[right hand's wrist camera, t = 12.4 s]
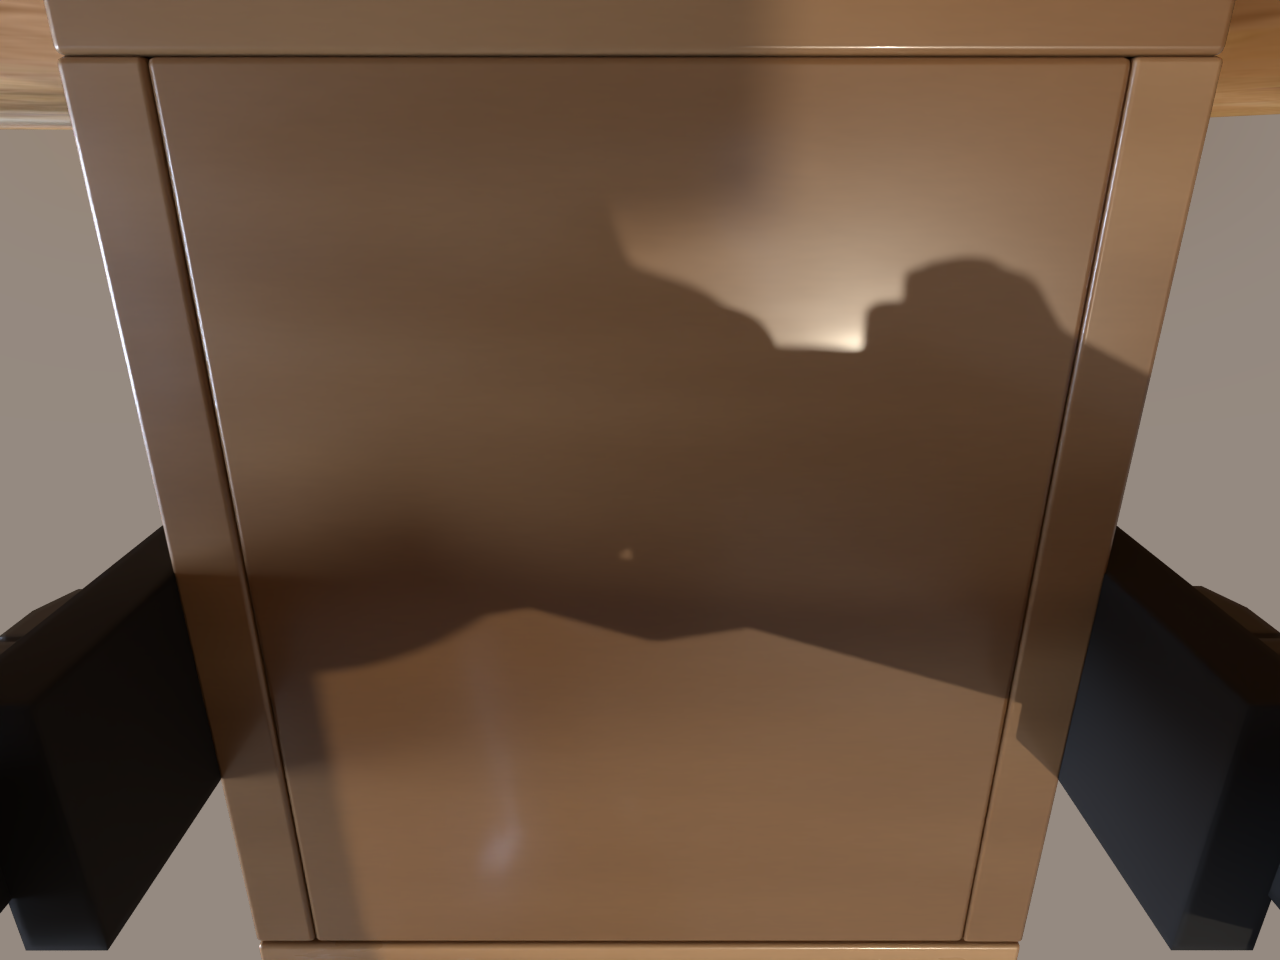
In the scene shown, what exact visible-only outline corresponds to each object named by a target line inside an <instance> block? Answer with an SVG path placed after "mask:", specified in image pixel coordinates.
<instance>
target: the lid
mask: <svg viewBox="0 0 1280 960" xmlns="http://www.w3.org/2000/svg"><path fill="white" fill-rule="evenodd" d="M259 949H260V953H261V957H262V960H1017V957H1018V952H1019V943H1018V942H967V941H965V940H964V939H963V937H962V938H961V940H958V941H321V940H318V939H317V936H316V938H315V939H314V940H311V941H261V943H260V946H259Z"/></svg>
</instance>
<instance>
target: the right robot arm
mask: <svg viewBox="0 0 1280 960" xmlns="http://www.w3.org/2000/svg"><path fill="white" fill-rule="evenodd" d="M220 780H221V775H220V771H219V766H218V762H217V757H216V753H215V749H214V744H213V740H212V736H211V731H210V727H209V722H208V718H207V714H206V709H205V705H204V700H203V696H202V692H201V687H200V683H199V679H198V674H197V670H196V665H195V661H194V657H193V652H192V648H191V644H190V639H189V635H188V630H187V626H186V622H185V617H184V613H183V609H182V604H181V600H180V595H179V591H178V587H177V582H176V578H175V574H174V571H173V567H172V562H171V558H170V554H169V549H168V545H167V540H166V536H165V532H164V527H163V526H161V527H160V528H159V529H158V530H156V531H155V532H154V533H153V534H151V535H150V536H149V537H147V538H146V539H145V540H144V541H142V542H141V543H140V544H139V545H137V546H136V547H135V548H134V549H132V550H131V551H130V552H129V553H127V554H126V555H125V556H124V557H122V558H121V559H120V560H119V561H117V562H116V563H115V564H114V565H112V566H111V567H110V568H109V569H107V570H106V571H105V572H103V573H102V574H101V575H100V576H98V577H97V578H96V579H95V580H93V581H92V582H91V583H90V584H88V585H87V586H86V587H85V588H83V589H78V590H75V591H73V592H71V593H69V594H67V595H65V596H63V597H61V598H59V599H57V600H55V601H53V602H50V603H48V604H46V605H44V606H42V607H40V608H38V609H36V610H34V611H32V612H31V613H29V614H28V615H27V616H25V617H24V618H23V619H22V620H20V621H19V622H18V623H16V624H15V625H14V626H12V627H11V628H10V629H9V630H7V631H6V632H5V633H3V634H2V635H1V636H0V913H1V912H2V910H3V909H4V908H5V907H6V906H7V904H8V903H9V905H10V908H11V911H12V914H13V916H14V919H15V922H16V925H17V927H18V930H19V933H20V935H21V938H22V941H23V944H24V946H25V949H26V950H108V949H109V948H110V946H111V945H112V943H113V942H114V940H115V939H116V937H117V936H118V934H119V932H120V931H121V929H122V928H123V926H124V925H125V923H126V922H127V920H128V919H129V917H130V916H131V914H132V913H133V911H134V910H135V908H136V907H137V905H138V904H139V902H140V901H141V899H142V898H143V896H144V895H145V893H146V892H147V890H148V889H149V887H150V886H151V884H152V883H153V881H154V879H155V878H156V877H157V875H158V874H159V872H160V871H161V869H162V867H163V866H164V864H165V863H166V861H167V860H168V858H169V857H170V855H171V854H172V852H173V851H174V849H175V848H176V846H177V845H178V843H179V842H180V840H181V839H182V837H183V836H184V834H185V833H186V831H187V830H188V828H189V827H190V825H191V824H192V822H193V820H194V819H195V818H196V816H197V814H198V813H199V811H200V810H201V808H202V807H203V805H204V804H205V802H206V801H207V799H208V798H209V796H210V795H211V793H212V792H213V790H214V789H215V787H216V786H217V784H218V783H219V781H220ZM1058 780H1059V781H1060V783H1061V784H1062V786H1063V787H1064V789H1065V790H1066V792H1067V793H1068V795H1069V796H1070V798H1071V799H1072V801H1073V802H1074V804H1075V805H1076V807H1077V808H1078V810H1079V811H1080V813H1081V814H1082V816H1083V818H1084V819H1085V821H1086V822H1087V824H1088V825H1089V827H1090V828H1091V830H1092V831H1093V833H1094V834H1095V836H1096V837H1097V839H1098V840H1099V842H1100V843H1101V845H1102V846H1103V848H1104V849H1105V851H1106V852H1107V854H1108V855H1109V857H1110V858H1111V860H1112V861H1113V863H1114V864H1115V866H1116V867H1117V869H1118V870H1119V872H1120V874H1121V875H1122V877H1123V878H1124V880H1125V881H1126V883H1127V884H1128V886H1129V887H1130V889H1131V890H1132V892H1133V893H1134V895H1135V896H1136V898H1137V899H1138V901H1139V902H1140V904H1141V905H1142V907H1143V908H1144V910H1145V911H1146V913H1147V914H1148V916H1149V917H1150V919H1151V920H1152V922H1153V923H1154V925H1155V926H1156V928H1157V929H1158V931H1159V933H1160V934H1161V936H1162V937H1163V939H1164V940H1165V942H1166V943H1167V945H1168V946H1169V948H1170V949H1171V950H1253V948H1254V946H1255V943H1256V940H1257V937H1258V935H1259V932H1260V929H1261V926H1262V924H1263V921H1264V918H1265V916H1266V913H1267V910H1268V907H1269V905H1270V902H1271V900H1272V901H1273V902H1274V903H1275V904H1276V905H1277V907H1278V908H1279V909H1280V632H1278V631H1277V630H1276V629H1274V628H1273V627H1272V626H1270V625H1269V624H1268V623H1267V622H1265V621H1264V620H1263V619H1261V618H1260V617H1259V616H1257V615H1256V614H1255V613H1253V612H1252V611H1251V610H1249V609H1248V608H1247V607H1244V606H1242V605H1240V604H1238V603H1236V602H1234V601H1232V600H1230V599H1228V598H1226V597H1223V596H1221V595H1219V594H1217V593H1215V592H1213V591H1211V590H1209V589H1207V588H1204V587H1202V586H1192V585H1191V584H1189V583H1188V582H1187V581H1186V580H1184V579H1183V578H1182V577H1180V576H1179V575H1178V574H1177V573H1175V572H1174V571H1173V570H1172V569H1170V568H1169V567H1168V566H1167V565H1165V564H1164V563H1163V562H1162V561H1160V560H1159V559H1158V558H1157V557H1155V556H1154V555H1153V554H1152V553H1150V552H1149V551H1148V550H1147V549H1145V548H1144V547H1143V546H1141V545H1140V544H1139V543H1138V542H1136V541H1135V540H1134V539H1133V538H1131V537H1130V536H1129V535H1128V534H1126V533H1125V532H1124V531H1123V530H1121V529H1120V528H1119V527H1118V526H1116V530H1115V534H1114V539H1113V543H1112V547H1111V552H1110V556H1109V560H1108V565H1107V569H1106V573H1105V575H1104V579H1103V583H1102V588H1101V592H1100V596H1099V601H1098V605H1097V610H1096V614H1095V618H1094V623H1093V627H1092V632H1091V636H1090V640H1089V645H1088V649H1087V653H1086V658H1085V662H1084V667H1083V671H1082V675H1081V680H1080V684H1079V688H1078V693H1077V697H1076V702H1075V706H1074V710H1073V715H1072V719H1071V724H1070V728H1069V732H1068V737H1067V741H1066V745H1065V750H1064V754H1063V759H1062V763H1061V767H1060V772H1059V776H1058Z"/></svg>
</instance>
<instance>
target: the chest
mask: <svg viewBox="0 0 1280 960" xmlns="http://www.w3.org/2000/svg"><path fill="white" fill-rule="evenodd" d="M43 1H44V5H45V9H46V14H47V18H48V22H49V27H50V31H51V36H52V40H53V44H54V47H55V49H56V51H57V52H58V53H60V54H62V55H65V56H64V57H62V58H60V59H58V68H59V72H60V76H61V81H62V85H63V90H64V94H65V98H66V103H67V107H68V111H69V116H70V120H71V125H72V129H73V133H74V138H75V142H76V146H77V151H78V155H79V160H80V164H81V168H82V173H83V177H84V181H85V186H86V190H87V195H88V199H89V203H90V208H91V212H92V217H93V221H94V225H95V230H96V234H97V238H98V243H99V247H100V251H101V256H102V260H103V265H104V269H105V273H106V278H107V282H108V286H109V291H110V295H111V300H112V304H113V308H114V313H115V317H116V321H117V326H118V330H119V335H120V339H121V343H122V348H123V352H124V357H125V361H126V365H127V370H128V374H129V378H130V383H131V387H132V392H133V396H134V400H135V405H136V409H137V413H138V418H139V422H140V427H141V431H142V435H143V440H144V444H145V449H146V453H147V457H148V462H149V466H150V470H151V475H152V479H153V484H154V488H155V492H156V497H157V501H158V505H159V510H160V514H161V518H162V523H163V527H164V532H165V536H166V540H167V545H168V549H169V554H170V558H171V562H172V567H173V571H174V574H175V578H176V582H177V587H178V591H179V595H180V600H181V604H182V609H183V613H184V617H185V622H186V626H187V630H188V635H189V639H190V644H191V648H192V652H193V657H194V661H195V665H196V670H197V674H198V679H199V683H200V687H201V692H202V696H203V700H204V705H205V709H206V714H207V718H208V722H209V727H210V731H211V736H212V740H213V744H214V749H215V753H216V757H217V762H218V766H219V771H220V775H221V781H222V785H223V790H224V794H225V799H226V803H227V808H228V811H229V816H230V821H231V825H232V829H233V834H234V838H235V842H236V847H237V851H238V856H239V860H240V864H241V869H242V873H243V878H244V882H245V886H246V891H247V895H248V899H249V904H250V908H251V912H252V917H253V921H254V926H255V930H256V934H257V938H258V939H259V940H261V941H311V940H314V939H315V938H316V936H317V939H318V940H321V941H958V940H961V938H962V937H963V939H964V940H965V941H967V942H1018V941H1021V940H1022V936H1023V932H1024V927H1025V923H1026V919H1027V914H1028V910H1029V905H1030V901H1031V897H1032V892H1033V888H1034V884H1035V879H1036V875H1037V871H1038V866H1039V862H1040V857H1041V853H1042V849H1043V844H1044V840H1045V836H1046V831H1047V827H1048V823H1049V818H1050V814H1051V809H1052V805H1053V801H1054V796H1055V792H1056V787H1057V783H1058V776H1059V772H1060V767H1061V763H1062V759H1063V754H1064V750H1065V745H1066V741H1067V737H1068V732H1069V728H1070V724H1071V719H1072V715H1073V710H1074V706H1075V702H1076V697H1077V693H1078V688H1079V684H1080V680H1081V675H1082V671H1083V667H1084V662H1085V658H1086V653H1087V649H1088V645H1089V640H1090V636H1091V632H1092V627H1093V623H1094V618H1095V614H1096V610H1097V605H1098V601H1099V596H1100V592H1101V588H1102V583H1103V579H1104V575H1105V573H1106V569H1107V565H1108V560H1109V556H1110V552H1111V547H1112V543H1113V539H1114V534H1115V530H1116V525H1117V521H1118V517H1119V512H1120V508H1121V504H1122V499H1123V495H1124V490H1125V486H1126V482H1127V477H1128V473H1129V469H1130V464H1131V460H1132V456H1133V451H1134V447H1135V442H1136V438H1137V434H1138V429H1139V425H1140V420H1141V416H1142V412H1143V407H1144V403H1145V399H1146V394H1147V390H1148V385H1149V381H1150V377H1151V372H1152V368H1153V364H1154V359H1155V355H1156V350H1157V346H1158V342H1159V338H1160V333H1161V329H1162V324H1163V320H1164V316H1165V311H1166V307H1167V302H1168V298H1169V294H1170V289H1171V285H1172V280H1173V276H1174V272H1175V268H1176V263H1177V259H1178V255H1179V250H1180V246H1181V241H1182V237H1183V232H1184V228H1185V224H1186V220H1187V215H1188V211H1189V206H1190V202H1191V198H1192V193H1193V189H1194V185H1195V180H1196V176H1197V171H1198V167H1199V163H1200V158H1201V154H1202V150H1203V145H1204V141H1205V136H1206V132H1207V128H1208V123H1209V119H1210V115H1211V110H1212V106H1213V102H1214V97H1215V93H1216V88H1217V84H1218V80H1219V75H1220V71H1221V67H1222V59H1221V58H1219V57H1217V56H1215V55H1217V54H1220V53H1221V52H1222V51H1223V49H1224V47H1225V44H1226V39H1227V35H1228V31H1229V26H1230V22H1231V17H1232V13H1233V9H1234V4H1235V0H43Z"/></svg>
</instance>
